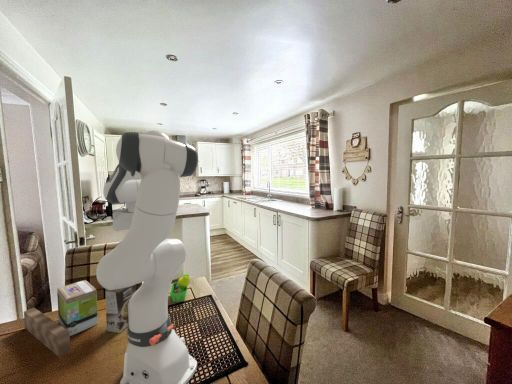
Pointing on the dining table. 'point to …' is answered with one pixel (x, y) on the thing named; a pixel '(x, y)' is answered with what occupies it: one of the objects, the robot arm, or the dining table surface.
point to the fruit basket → (180, 289)
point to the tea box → (77, 306)
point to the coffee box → (118, 308)
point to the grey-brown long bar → (47, 331)
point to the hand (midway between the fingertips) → (137, 236)
